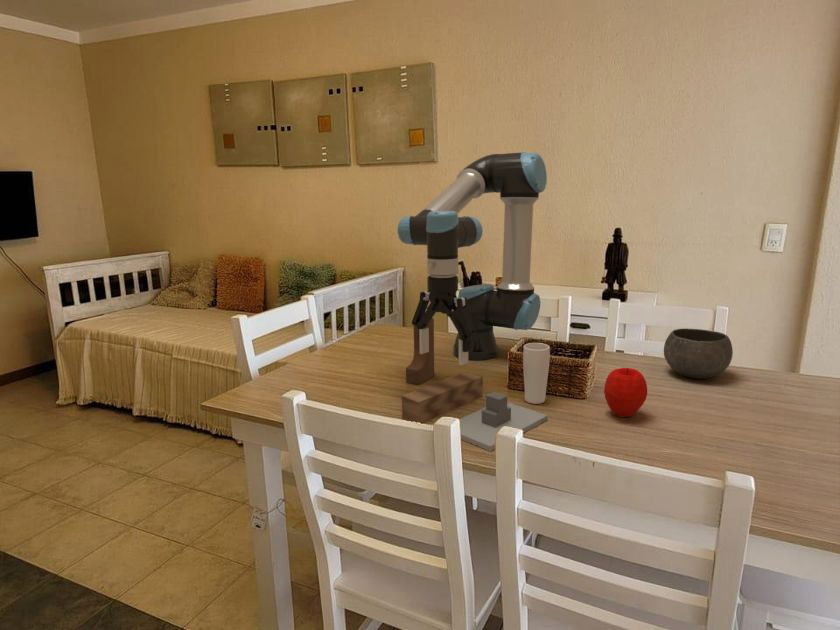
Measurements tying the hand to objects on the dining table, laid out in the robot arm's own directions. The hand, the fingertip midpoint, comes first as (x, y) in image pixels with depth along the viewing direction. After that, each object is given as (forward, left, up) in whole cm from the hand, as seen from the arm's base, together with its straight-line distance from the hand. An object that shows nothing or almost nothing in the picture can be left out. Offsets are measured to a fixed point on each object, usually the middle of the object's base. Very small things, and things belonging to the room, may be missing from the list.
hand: (443, 358), depth 138 cm
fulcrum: (0, +17, -13) cm, 21 cm away
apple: (-26, +36, -13) cm, 46 cm away
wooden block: (-10, -19, -13) cm, 25 cm away
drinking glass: (-19, +15, -13) cm, 28 cm away
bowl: (-67, +38, -13) cm, 78 cm away
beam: (0, 0, -13) cm, 13 cm away
